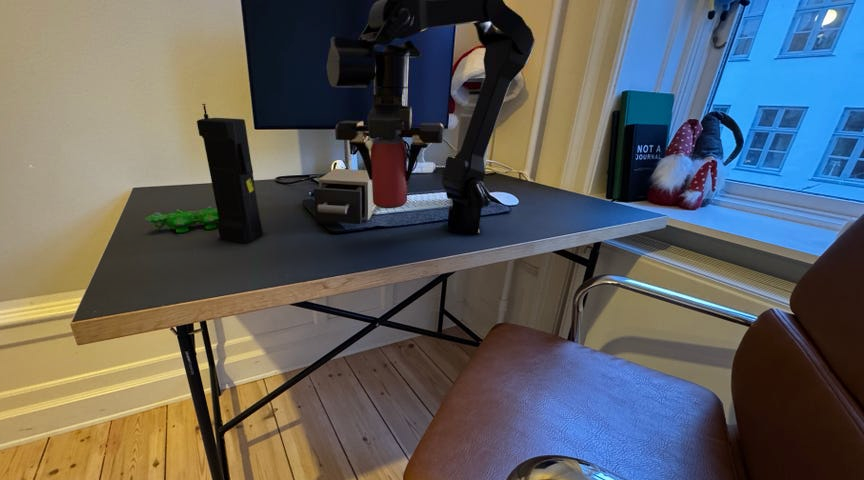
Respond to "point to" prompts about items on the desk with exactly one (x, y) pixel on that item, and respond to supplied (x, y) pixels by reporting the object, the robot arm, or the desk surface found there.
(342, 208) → the drawer
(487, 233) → the desk surface
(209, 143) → the portable radio
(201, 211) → the crocodile figurine
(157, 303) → the desk surface
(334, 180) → the small drawer cabinet
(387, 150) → the beer can
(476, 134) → the robot arm
